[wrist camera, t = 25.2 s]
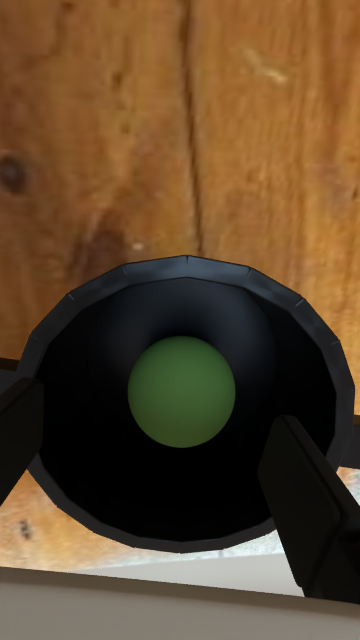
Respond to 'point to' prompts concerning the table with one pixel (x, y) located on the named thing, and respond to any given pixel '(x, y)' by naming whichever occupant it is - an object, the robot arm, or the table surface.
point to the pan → (165, 461)
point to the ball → (181, 391)
